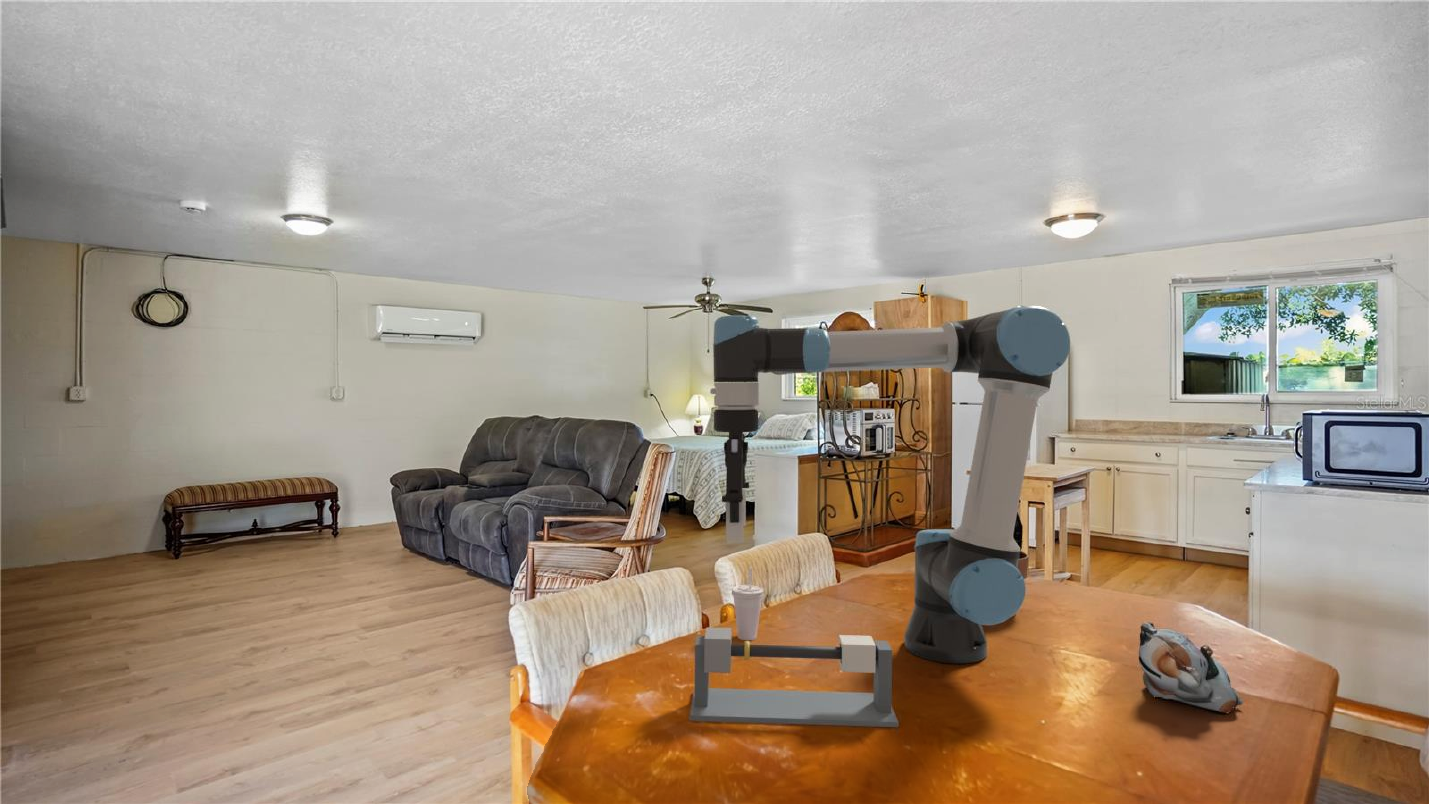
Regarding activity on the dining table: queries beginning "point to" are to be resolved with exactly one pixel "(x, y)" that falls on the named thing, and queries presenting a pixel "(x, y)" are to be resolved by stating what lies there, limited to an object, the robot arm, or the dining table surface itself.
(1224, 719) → the dining table surface
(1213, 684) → the gray steam iron
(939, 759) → the dining table surface
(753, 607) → the smoothie
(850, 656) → the sleeve
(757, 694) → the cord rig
